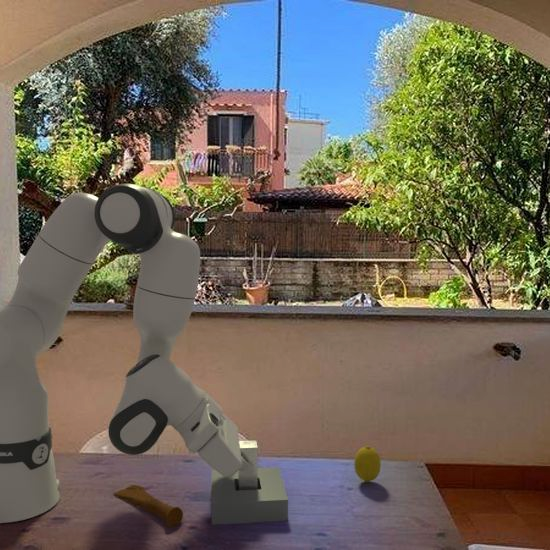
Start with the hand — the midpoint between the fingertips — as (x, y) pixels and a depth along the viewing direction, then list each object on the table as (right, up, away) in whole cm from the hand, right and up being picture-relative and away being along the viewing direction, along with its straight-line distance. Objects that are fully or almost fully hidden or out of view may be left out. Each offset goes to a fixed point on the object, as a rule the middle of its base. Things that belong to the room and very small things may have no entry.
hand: (250, 467), depth 105 cm
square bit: (-1, -5, 0) cm, 5 cm away
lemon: (+24, -7, +10) cm, 27 cm away
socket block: (-1, -7, 0) cm, 7 cm away
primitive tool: (-20, -8, -1) cm, 22 cm away
